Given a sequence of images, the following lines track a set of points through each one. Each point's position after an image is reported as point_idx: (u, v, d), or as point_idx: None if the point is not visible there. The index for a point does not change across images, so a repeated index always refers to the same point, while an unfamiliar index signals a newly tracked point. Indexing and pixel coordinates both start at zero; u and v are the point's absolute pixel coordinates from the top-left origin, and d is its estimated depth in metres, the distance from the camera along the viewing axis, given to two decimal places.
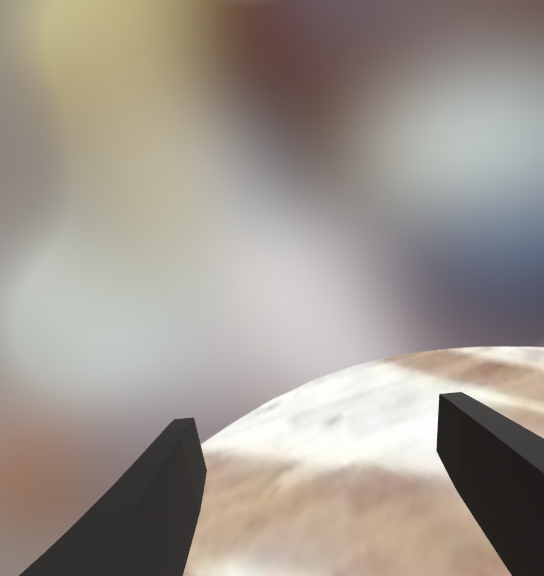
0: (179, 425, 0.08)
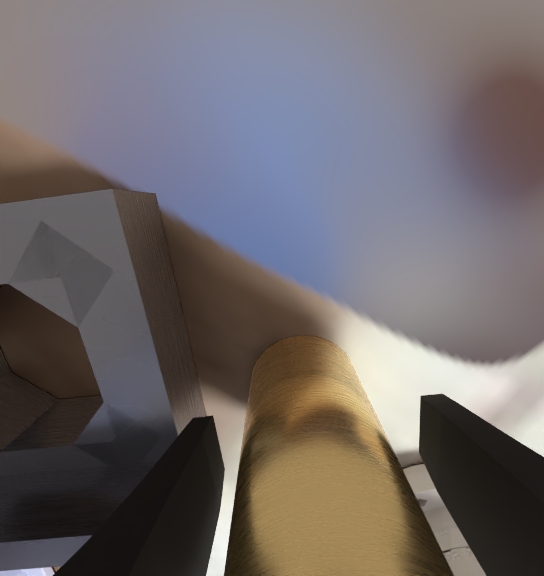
0: (199, 423, 0.08)
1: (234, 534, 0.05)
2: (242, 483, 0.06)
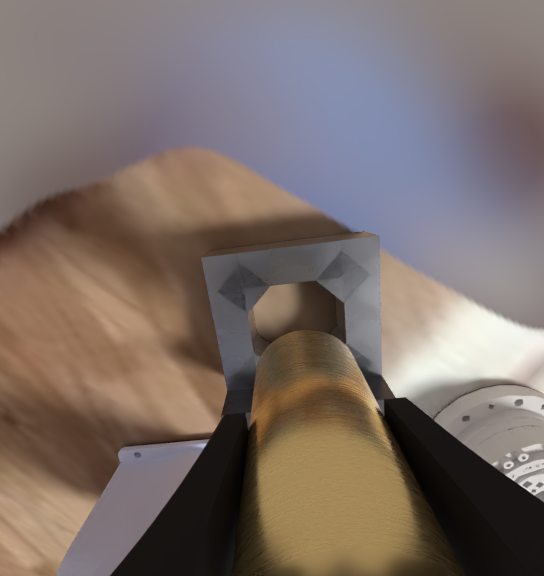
0: (232, 419, 0.08)
1: (241, 518, 0.05)
2: (248, 471, 0.06)
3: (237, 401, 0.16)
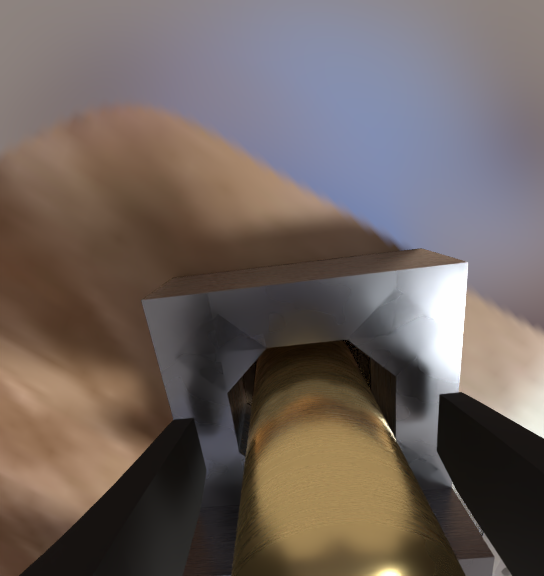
0: (179, 424, 0.08)
1: (243, 502, 0.06)
2: (249, 460, 0.06)
3: (210, 537, 0.09)
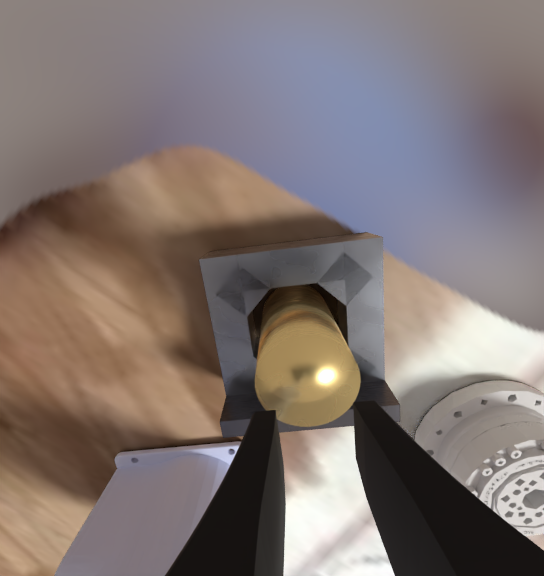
0: (264, 416, 0.08)
1: (259, 350, 0.12)
2: (261, 338, 0.12)
3: (236, 406, 0.15)
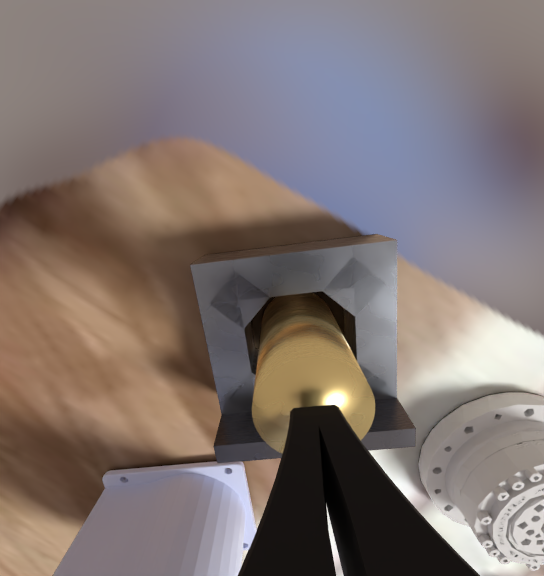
0: (305, 413, 0.08)
1: (258, 370, 0.10)
2: (260, 355, 0.11)
3: (232, 427, 0.14)
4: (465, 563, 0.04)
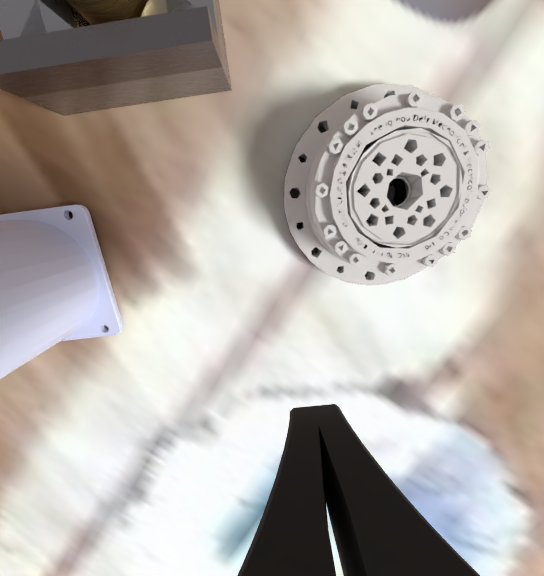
0: (305, 413, 0.08)
1: None
2: None
3: None
4: (465, 563, 0.04)
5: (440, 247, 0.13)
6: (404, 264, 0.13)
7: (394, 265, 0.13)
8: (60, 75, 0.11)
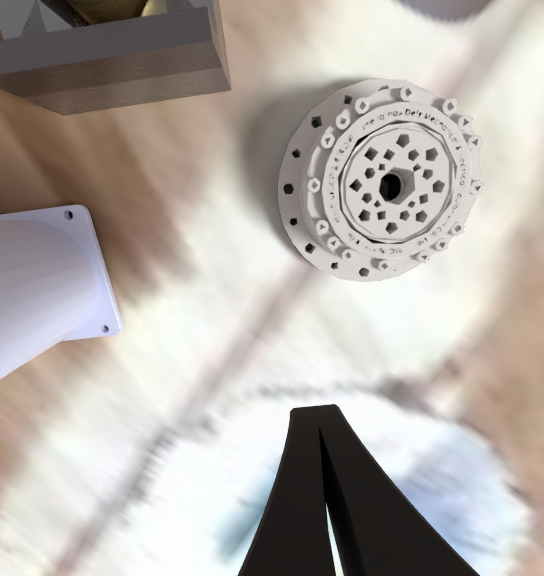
0: (305, 413, 0.08)
1: None
2: None
3: None
4: (465, 563, 0.04)
5: (433, 243, 0.12)
6: (397, 260, 0.13)
7: (387, 261, 0.13)
8: (60, 75, 0.11)
